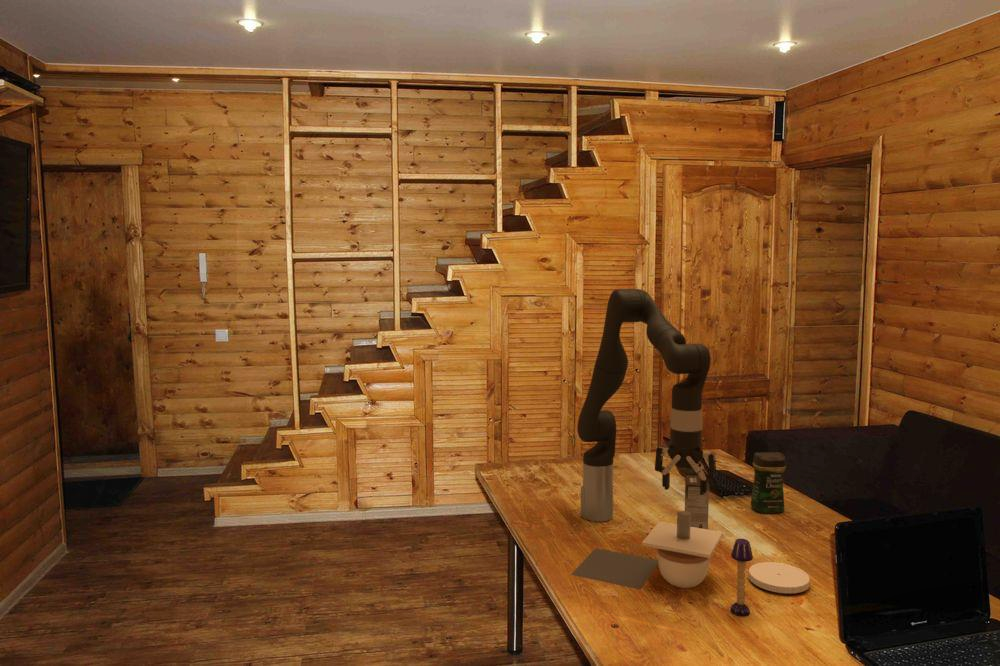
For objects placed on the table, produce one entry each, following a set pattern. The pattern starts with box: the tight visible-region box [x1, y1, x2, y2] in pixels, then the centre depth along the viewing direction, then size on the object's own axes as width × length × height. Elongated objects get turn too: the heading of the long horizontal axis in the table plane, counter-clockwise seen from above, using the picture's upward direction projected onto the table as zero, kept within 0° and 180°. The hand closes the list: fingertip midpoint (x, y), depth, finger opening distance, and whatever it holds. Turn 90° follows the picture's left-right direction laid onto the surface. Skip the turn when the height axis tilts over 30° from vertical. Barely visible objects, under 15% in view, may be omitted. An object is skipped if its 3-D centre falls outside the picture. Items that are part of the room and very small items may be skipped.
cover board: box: [641, 510, 724, 559], centre depth 175 cm, size 16×16×7 cm
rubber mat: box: [570, 547, 659, 590], centre depth 184 cm, size 18×18×1 cm
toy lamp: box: [730, 538, 754, 617], centre depth 162 cm, size 5×5×17 cm
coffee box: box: [684, 474, 710, 530], centre depth 206 cm, size 9×6×16 cm
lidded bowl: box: [656, 548, 710, 589], centre depth 176 cm, size 13×13×11 cm
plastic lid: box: [748, 561, 811, 595], centre depth 176 cm, size 14×14×2 cm
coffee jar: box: [750, 451, 787, 514], centre depth 224 cm, size 10×8×19 cm
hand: (684, 491), depth 174 cm, fingers open, 8 cm apart
